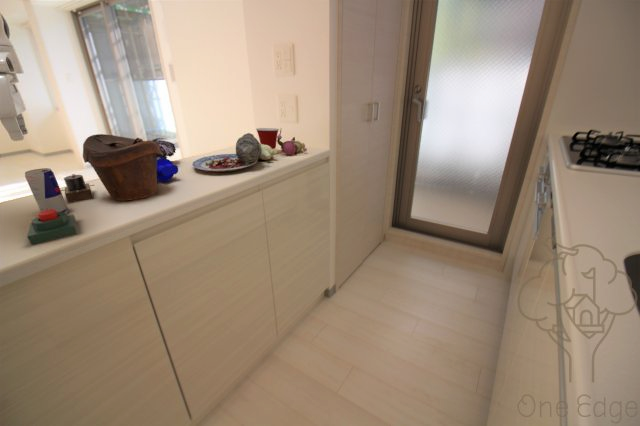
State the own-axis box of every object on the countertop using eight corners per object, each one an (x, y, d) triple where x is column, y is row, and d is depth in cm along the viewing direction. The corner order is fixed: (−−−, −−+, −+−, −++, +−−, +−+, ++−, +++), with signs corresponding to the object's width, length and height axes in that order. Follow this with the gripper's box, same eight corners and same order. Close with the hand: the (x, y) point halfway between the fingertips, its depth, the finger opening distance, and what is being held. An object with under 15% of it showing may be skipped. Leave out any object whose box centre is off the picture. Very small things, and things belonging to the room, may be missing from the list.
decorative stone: (237, 124, 123) (261, 125, 125) (239, 146, 129) (261, 147, 131) (233, 143, 106) (261, 144, 108) (235, 167, 111) (262, 167, 113)
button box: (31, 245, 63) (23, 228, 61) (34, 231, 69) (27, 216, 67) (77, 233, 68) (71, 218, 66) (76, 222, 73) (70, 207, 72)
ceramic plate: (270, 162, 125) (269, 155, 124) (227, 179, 104) (226, 171, 103) (225, 156, 136) (224, 149, 134) (178, 170, 115) (177, 162, 114)
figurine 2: (296, 148, 148) (295, 136, 145) (290, 153, 142) (288, 141, 139) (282, 148, 151) (281, 136, 148) (276, 153, 144) (274, 140, 141)
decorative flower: (126, 157, 112) (143, 140, 124) (148, 180, 119) (162, 162, 131) (156, 143, 109) (170, 127, 121) (177, 168, 116) (188, 150, 128)
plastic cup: (284, 151, 143) (283, 127, 138) (272, 156, 134) (271, 130, 129) (266, 150, 147) (264, 125, 142) (253, 154, 138) (251, 128, 133)
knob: (85, 188, 87) (81, 176, 85) (67, 191, 85) (62, 179, 83) (86, 184, 90) (82, 172, 89) (68, 187, 88) (64, 175, 86)
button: (40, 223, 65) (36, 216, 64) (40, 218, 67) (37, 211, 66) (58, 219, 66) (55, 212, 66) (58, 214, 69) (55, 208, 68)
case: (171, 197, 88) (158, 137, 80) (92, 209, 80) (68, 144, 72) (170, 180, 102) (158, 128, 95) (102, 189, 94) (84, 133, 87)
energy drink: (73, 212, 79) (56, 169, 74) (49, 220, 74) (30, 175, 69) (62, 208, 81) (45, 167, 76) (38, 216, 76) (19, 172, 71)
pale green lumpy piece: (283, 160, 131) (261, 157, 139) (284, 145, 129) (261, 142, 138) (261, 161, 120) (238, 158, 129) (261, 144, 119) (238, 142, 127)
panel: (62, 205, 83) (58, 194, 82) (62, 196, 89) (59, 186, 88) (98, 198, 88) (95, 188, 87) (96, 190, 94) (93, 181, 93)
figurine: (310, 125, 140) (294, 127, 127) (311, 153, 144) (295, 157, 132) (291, 125, 144) (274, 126, 132) (292, 151, 149) (275, 155, 136)
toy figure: (153, 157, 94) (127, 153, 101) (160, 185, 97) (134, 180, 104) (178, 153, 101) (152, 150, 108) (183, 179, 105) (158, 175, 112)
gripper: (-24, 65, 61) (7, 133, 66) (-51, 59, 46) (-9, 146, 52) (17, 66, 64) (43, 130, 70) (4, 60, 50) (38, 141, 56)
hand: (21, 137), depth 61 cm, fingers open, 8 cm apart
